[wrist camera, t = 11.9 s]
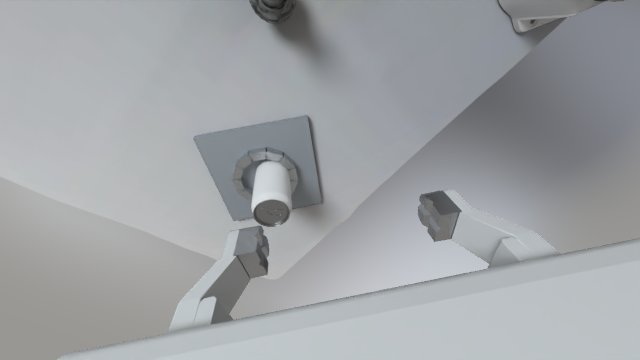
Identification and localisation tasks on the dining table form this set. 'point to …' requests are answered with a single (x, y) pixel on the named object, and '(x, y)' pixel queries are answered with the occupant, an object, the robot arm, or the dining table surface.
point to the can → (271, 194)
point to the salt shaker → (273, 9)
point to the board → (234, 143)
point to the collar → (260, 155)
